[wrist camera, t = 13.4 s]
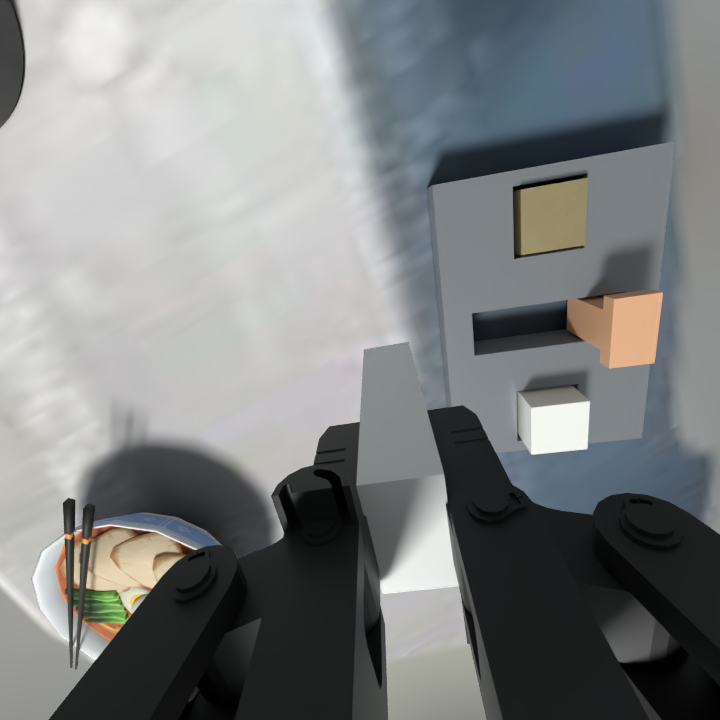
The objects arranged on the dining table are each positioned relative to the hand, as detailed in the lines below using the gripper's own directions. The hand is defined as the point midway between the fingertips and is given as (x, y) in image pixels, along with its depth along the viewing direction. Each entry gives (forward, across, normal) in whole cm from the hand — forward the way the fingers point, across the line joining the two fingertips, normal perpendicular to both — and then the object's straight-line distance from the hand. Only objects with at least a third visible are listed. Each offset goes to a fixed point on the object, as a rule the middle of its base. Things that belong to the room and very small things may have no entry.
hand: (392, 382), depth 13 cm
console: (+21, +12, -6) cm, 25 cm away
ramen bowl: (+21, -30, -28) cm, 46 cm away
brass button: (+21, +13, +2) cm, 24 cm away
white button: (+18, +12, -14) cm, 26 cm away
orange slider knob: (+20, +16, -6) cm, 26 cm away
